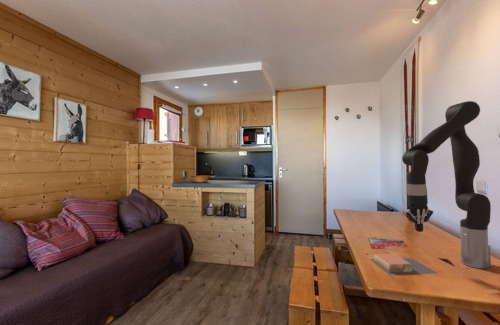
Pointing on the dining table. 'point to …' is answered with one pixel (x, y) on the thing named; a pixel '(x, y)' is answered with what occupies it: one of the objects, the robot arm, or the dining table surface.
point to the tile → (392, 263)
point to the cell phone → (446, 261)
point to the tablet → (386, 243)
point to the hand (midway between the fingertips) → (419, 231)
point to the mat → (416, 267)
